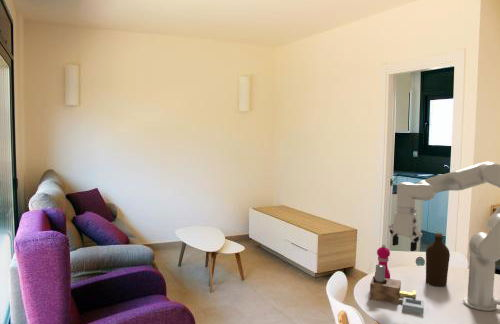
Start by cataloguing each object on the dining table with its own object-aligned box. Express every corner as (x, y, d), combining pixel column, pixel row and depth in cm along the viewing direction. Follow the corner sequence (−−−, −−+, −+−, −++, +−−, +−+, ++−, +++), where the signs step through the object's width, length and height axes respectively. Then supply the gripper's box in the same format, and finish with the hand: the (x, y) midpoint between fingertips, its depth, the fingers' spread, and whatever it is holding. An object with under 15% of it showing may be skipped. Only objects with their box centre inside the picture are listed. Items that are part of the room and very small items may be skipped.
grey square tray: (423, 306, 172) (423, 300, 172) (423, 314, 165) (423, 308, 165) (403, 303, 176) (403, 297, 175) (402, 310, 168) (402, 304, 168)
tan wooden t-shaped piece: (415, 299, 178) (416, 290, 178) (415, 303, 174) (415, 294, 174) (398, 296, 181) (398, 287, 181) (397, 300, 177) (398, 291, 177)
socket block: (400, 295, 184) (400, 280, 183) (398, 304, 175) (399, 288, 174) (372, 290, 189) (373, 276, 188) (369, 298, 180) (370, 283, 179)
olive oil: (441, 289, 192) (444, 237, 190) (420, 282, 200) (422, 232, 198) (451, 284, 199) (454, 234, 196) (430, 277, 207) (433, 229, 205)
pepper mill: (372, 285, 195) (374, 245, 193) (375, 280, 201) (377, 241, 200) (388, 288, 192) (390, 247, 190) (391, 283, 198) (392, 243, 196)
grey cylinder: (384, 295, 184) (385, 265, 182) (383, 298, 180) (384, 268, 179) (375, 293, 185) (376, 264, 184) (374, 297, 182) (375, 266, 180)
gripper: (428, 212, 174) (426, 251, 176) (395, 206, 189) (394, 242, 190) (416, 214, 170) (415, 254, 172) (384, 207, 185) (383, 244, 187)
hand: (404, 247), depth 181 cm, fingers open, 9 cm apart
